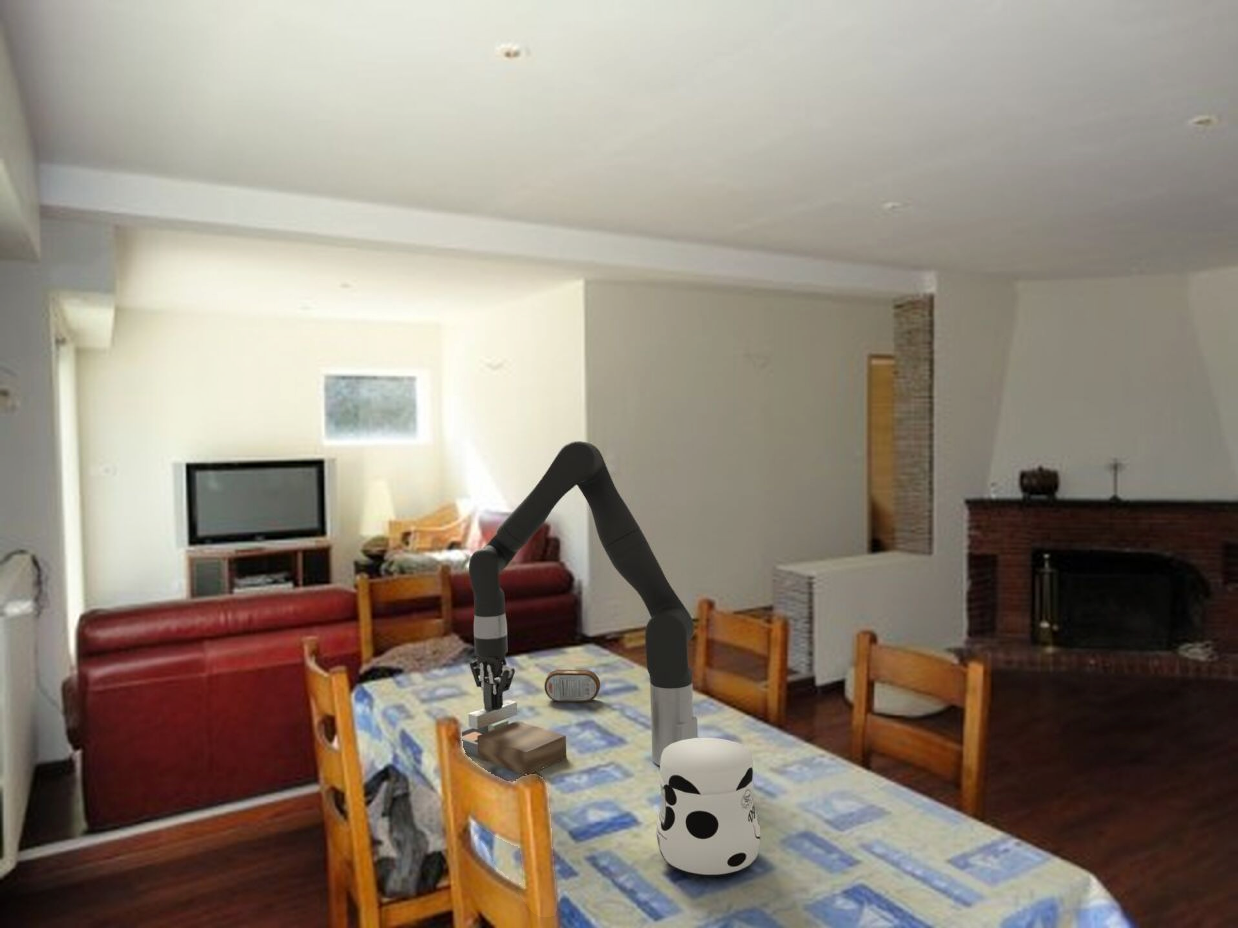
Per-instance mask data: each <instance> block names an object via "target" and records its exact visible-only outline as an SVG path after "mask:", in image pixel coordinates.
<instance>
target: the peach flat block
mask: <svg viewBox="0 0 1238 928" xmlns="http://www.w3.org/2000/svg"><path fill="white" fill-rule="evenodd" d="M479 735H481V734H480V733H477V732H473V733H470V734H467V735H465V736H462V738H465V739H468V740H471V741H474V742H477V736H479ZM477 743H478V742H477Z"/></svg>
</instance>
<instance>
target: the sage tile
mask: <svg viewBox="0 0 1238 928" xmlns="http://www.w3.org/2000/svg"><path fill="white" fill-rule="evenodd" d="M507 724H510V723H509V720H508V719H505V720H502V721H499V722H497V723H494V724H491V725H488V732H489V731H492V730H494V729H497V728H499V727H502V726H505V725H507Z"/></svg>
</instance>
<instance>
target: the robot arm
mask: <svg viewBox="0 0 1238 928" xmlns="http://www.w3.org/2000/svg"><path fill="white" fill-rule="evenodd" d="M576 486H577V488H578V489H579V491H580V492H581V494H582V496H583V497H584V499H585V500H586V502H587V504H588V506H589V508H590V510H591V514H592V517H593V521H594V524H595V529H596V532H597V536H598V538H599V541H600V543H601V545H602V548H603V549H604V551H605V553H606V555H607V556H608V558H609V560H610V562H611V564H612V566H613V568H615V570H616V571H617V572H618V574H619V575H620V576H621V577H622V578H623V579H624V580H625V581H626V582H627V583H628V584H629V586H631V587H632V588H633V590H635V591H636V593H637V594H638V595H639V596H640V598H641V600H642V601H643V603H644V605H645V607H646V609H647V611H648V614H649V615H650V619H649V620H648V622H647V623H646V627H645V632H644V634H645V635H644V636H645V637H644V639H645V645H644V646H645V658H646V669H647V673H648V675H649V682H650V683H649V685H650V688H649V689H650V690H649V691H650V692H649V693H650V721H651V722H650V726H651V727H650V728H651V729H650V730H651V753H652V754H651V757H652V762H653V763H654V764H655V765H657V766H659V767H660V762H661V755H662V752H663V750H664V749H665V748H666V747H667V746H669V745H670V744H672V743H675V742H678V741H681V740H686V739H692V738H699V736H698V717H697V716H694V706H693V705H694V704H693V701H694V700H693V699H694V698H693V693H694V692H693V671H692V669H691V668H690V666H689V659H688V657H689V656H688V643H690V641H691V640H692V638H693V636H694V632H695V625H694V624H695V623H694V621H693V618H692V616H691V614H690V613H689V611H688V610H687V608H686V606H685V605H684V603H683V602H682V601H681V599H680V598H679V597H678V595H677V593H676V591H674V589H673V587H672V586H671V585H670V583H669V581H668V579H667V578H666V575H665V574H664V571H663V569H662V567H661V565H660V563H659V562H658V560H657V558H656V556H655V554H654V551H652V548H651V546H650V544H649V542H648V540H647V539H646V536H645V534H644V532H643V531H642V529H641V527H640V526H639V523H638V522H637V520H636V519H635V517H634V516H633V514H632V512H631V511H630V509H629V507H628V506H627V504H626V502H625V501H624V500H623V498H622V497H621V495H620V493H619V491H618V489H617V488H616V486H615V483H614V481H613V479H612V476H611V473H610V472H609V470H608V467H607V464H606V462H605V459H604V457H603V454H602V453H601V452H600V450H599V448H598V447H596V446H595V445H594V444H592V443H590V442H586V441H581V440H580V441H579V440H575V441H570V442H568V443H566V444H564V446H562V447H561V449H560V450H559V452H558V453H557V455H556V456H555V458H554V459H553V461H552V463H551V464H550V466H549V467H548V468H547V471H546V472H545V473H544V474H543V475H542V477H541V479H540V480H539V481H538V483H537V484H536V485H535V487H534V488H533V489H532V490H531V491H530V493H528V495H527V496H526V497H525V498H523V500H522V502H521V503H520V504H519V505H518V506H517V507H516V508H515V509H514V510H513V511H512V513H510V515H508V517H507V518H506V519H505V520H504V521H503V522H502V523H501V525H500V526H499V527H498V529H497V530H496V534H495V535H494V536H493V537H492V538H491V539H490V540H489V541H488V543H486V545H484V546H483V547H482V548H479V549H478V550H475V551H474V552H473V553H472V555H471V556H470V558H469V563H468V575H469V580H470V584H471V585H470V586H471V591H472V593H473V607H474V609H473V610H474V611H473V612H474V615H473V617H474V618H473V644H474V654H475V656H477V658H476V660H475V661H470V662H469V667H470V670H471V673H472V676H473V679H474V682H475V686H476V687H477V688H481V689H480V690H481V691H482V694H483V695H482V697H483V701H484V682H487V681H490V684H492V690H493V709H494V710H498V709H501V708H502V706H503V701H504V699H503V697H504V696H503V693H504V692H508V691H509V690H510V688H511V684H512V682H513V678H514V676H515V672H516V671H515V668H514V667H511V668H510V667H509V666H507V660H506V654H507V653H508V649H509V648H508V623H507V622H508V621H507V617H506V615H507V614H506V597H505V591H504V590H503V589H502V588H501V586H500V585H501V584H500V583H501V582H500V576H499V575H500V573H502V572H503V571H504V570H505V569H506V567H508V566H509V564H510V563H511V561H512V560H513V559H514V557H515V556H516V555H517V553H519V551H520V550H521V549H522V548H523V547H524V546H525V545H526V544H528V542H529V541H530V540H531V539H532V538H533V536H534V535H536V533H537V532H538V531H539V529H540V528H541V527H542V525H544V523H545V522H546V521H547V518H548V517H549V515H550V514H551V512H552V511H553V509H554V508H555V507H556V505H557V504H558V503H559V501H560V500H562V498H564V496H565V495H566V494H567V493H568V492H570V491H571V490H572V489H574V488H575V487H576ZM497 683H499V687H498V688H497Z"/></svg>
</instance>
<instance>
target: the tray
mask: <svg viewBox="0 0 1238 928" xmlns="http://www.w3.org/2000/svg"><path fill="white" fill-rule="evenodd" d="M461 731H462V736H465V735H467V734H470V733H473V732H477V733H480V734H484V733H486V732H488V726H486V727H483V728H480V729H478V730H477V729H474V728H471V727H468V728H465V729H463V730H461ZM462 741H463V748H464V750H465V752H466V753H465V754H466V755H469V756H472V757H474V758H477V759H479V758H478V743H477V742H474V741H471V740H468V739H465V738H462Z"/></svg>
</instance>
